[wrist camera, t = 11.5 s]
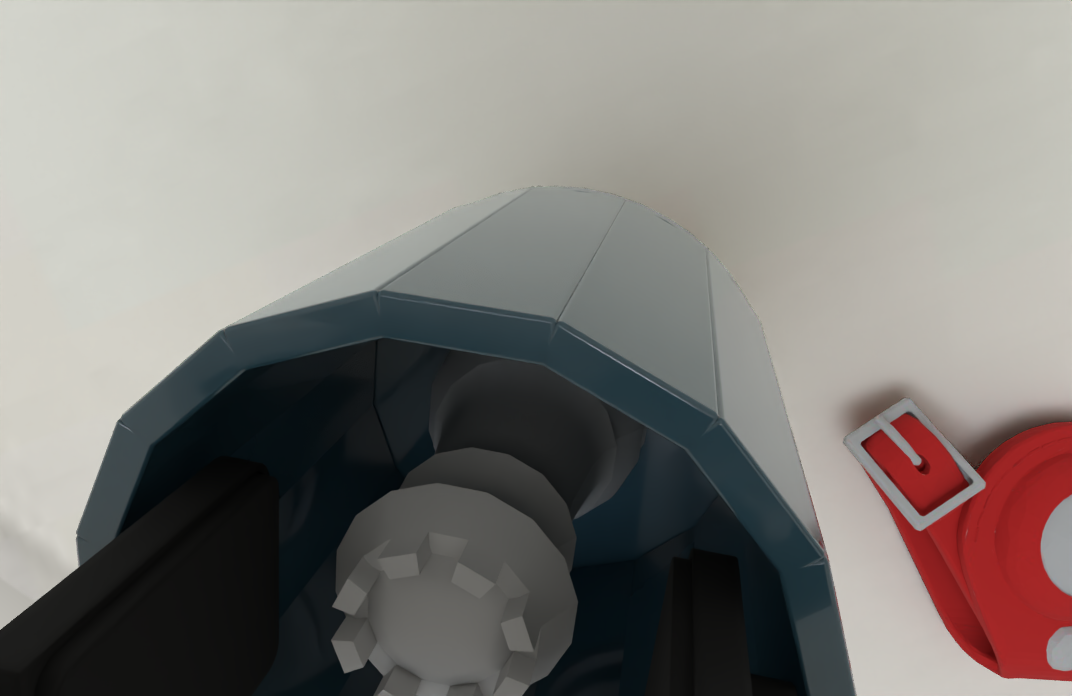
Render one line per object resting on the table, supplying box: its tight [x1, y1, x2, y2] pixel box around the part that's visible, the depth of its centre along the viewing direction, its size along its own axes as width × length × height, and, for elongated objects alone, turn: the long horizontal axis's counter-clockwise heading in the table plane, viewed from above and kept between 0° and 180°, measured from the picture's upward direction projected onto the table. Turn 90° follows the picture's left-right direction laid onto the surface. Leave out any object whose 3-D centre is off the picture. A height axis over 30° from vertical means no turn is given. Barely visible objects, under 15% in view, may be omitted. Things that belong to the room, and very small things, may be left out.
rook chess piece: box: [331, 350, 647, 696], centre depth 13 cm, size 4×4×8 cm
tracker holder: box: [843, 398, 1072, 681], centre depth 28 cm, size 12×4×10 cm
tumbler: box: [76, 186, 857, 696], centre depth 13 cm, size 9×9×9 cm
